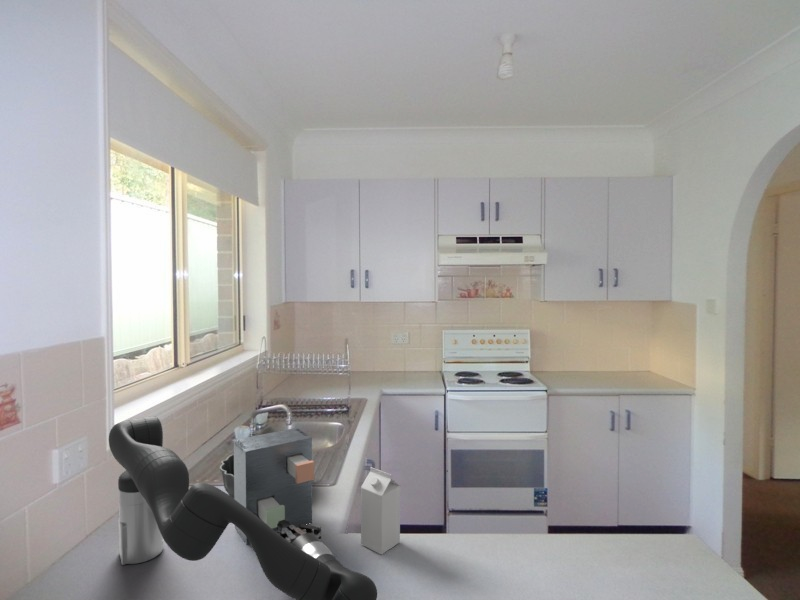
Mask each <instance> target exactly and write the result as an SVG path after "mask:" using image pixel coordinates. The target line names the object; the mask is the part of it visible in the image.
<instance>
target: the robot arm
mask: <svg viewBox="0 0 800 600" xmlns="http://www.w3.org/2000/svg"><path fill="white" fill-rule="evenodd" d="M163 432H164V431H163V426H162V422H161V420H160V419H159V417H157V416H154V415H151V416H145V417H139V418H135V419H130V420H124V421H121V422H117V423H116V424H114V425H113V426H112V427H111V429H110V431H109V434H108V446H109V450H110V452H111V454H112V456H113V457H114V459H115V460H116V462H117V463H118V464H119V465H121V467H122V468H124V469H125V470H124V471H123V472H122V473H120V475H119V476H118V479H117V480H118V483H117V484H118V516H117V517H118V518H117V520H118V555H119V558H120V564H121V565H122V566H124V565H127V564H130V565H133V564H140V563H141V564H142V563H145V562H147V561H151V560H153V559H155V558H156V557H158V556H159V555H160V554H161V553H162V552H163V550H164V542H165V543H166V545H167V547H168V548H169V549H170V550H171V551H172V552H173V553H175V554H176V555H177V556H178V557H180V558H182V559H184V560H187V561H193V562H194V561H200V560H203V559H204V558H205V557H207V555H209V553H211V551H212V549H213V548H214V547H215V545H217V543H218V541H219V540H220V538H221V537H222V535H223V534H224V532H225V530H226V528H228V525H229V524H232V525H234V527H235V526H236V527H238V528H239V529H240V530H241V531H242V532H243V533H244V534H245V535H246V537H247V538H248V540H249V542H250V545H251V547H252V548H253V549H252V550H253V551H254V553H255V555H256V558H257V560H258V563H259V565H260V567H261V569H262V572H263V574H264V576H265V577H266V578H267V580H268V582H270V583H271V584H272V585H273V586H274V587H275V589H277V590H279V591H281V592H282V593H283V594H285V595H287V596H288V597H290V598H292V599H294V600H377V598H378V590H377V589H378V588H377V586H376V584H375V582H374V581H373V579H371V578H370V577H368V576H367V575H366V574H363V573H361V572H357V571H354V570H351V569H349V568H347V567H346V566H344V565H343V564H342V563H341V562H340V560H338V559H337V558H336V557H335V556H334V554H333V553H332V551H331V549H330V548H328V546H326V544H325V543H324V542H322V540H321V539H322V527H321V526H314V525H311V524H308V525H304V524H298V525H297V526H296V527H295V526H294V525H291V524H290V523H289V522H288V521H285V520H281V521H278V524H277V531H276V532H275V531H274V530H273V529H272V528H271V527H269V526H268V525H267V524H266V523H264V522H263V521H262V520H261V519H259V518H258V517H257V516H256V515H254V514H253V513H252V512H250V511H249V510H248V509H246V508H245V507H244V506H243V505H241V504H240V503H239V502H237V501H236V500H235V499H233V498H232V497H231V496H230V495H229V494H228V493H227V492H226V491H223V490H221V489H220V488H218V487H217V486H214V485H211V484H209V483H206V482H195V483H193V484H192V485H191V486H190V474H189V470H188V467H187V465H186V463H185V462H184V461H183V460H182V459H181V458H180V456H178V454H177V453H176V452H175V451H174V450H171V449H170V448H168V447H164V446H163V443H164V442H163V441H164V433H163ZM304 530H305V531H304Z"/></svg>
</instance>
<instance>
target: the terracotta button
mask: <svg viewBox="0 0 800 600" xmlns="http://www.w3.org/2000/svg"><path fill="white" fill-rule="evenodd" d="M286 471H287V472H288V473H290V474H291V475H292V476H293V477H294V478H295V479H296V483H297V484H299V483H302V482H306V481H310V480H312V481H313V480H315V461H314V460H313V459H312V460H311V461H309V460H307V459H306V458H305V457H303V456H302V455H301V454H296V455H292V456H288V457H286Z"/></svg>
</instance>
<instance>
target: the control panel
mask: <svg viewBox="0 0 800 600" xmlns="http://www.w3.org/2000/svg"><path fill="white" fill-rule="evenodd" d="M312 444H313V437H312V436H310V435H309V434H307V433H306V432H304V431H303V430H301V429H300V428H298V427H294V428H287V429H283V430H279V431H273V432H267V433H264V434H259V435H258V434H257V435H252V436H247V437H242V438H238V439H233V454H234V499H235V500H236V501H237V502H239V503H240V504H241V505H243V506H244V507H245V508H246V509H248V510H249V511H250V512H252V513H253V514H254V515H256V516H257V517H258V518H259V519H261V518H260V517H259V516H258V515H257V500H259V499H263V498H266V497H270V496H272V497H273V498H274V499H275V500H276V501H277V502H278V504H279V505H284V506H285V521H288V522H289V523H290V524H291V525H294V526H295V527H296V526H297V525H298V524H304V525H306V524H308V525H310V524H309V523H311V524H313V480H310V481H306V482H302V483H299V484H297V483H296V479H295V478H294V477H293V476H292V475H291V474H290V473H288V472H287V471H286V457H288V456H292V455H296V454H301V455H302V456H303V457H305V458H306V459H307V460H309V461H311V460H313V445H312ZM234 528H235V530H236V531H237V533H238V534H239V536H240V537H241V539H242V540H243V542H244V543H245V544H246V545H249V544H250V545H251V543H250V542H249V540H248V538H247V537H246V535H245V534H244V533H243V532H242V531H241V530H240V529H239V528H238V527H236V526H235V525H234ZM272 529H273V530H274V531H275V532H276V531H277V527H276V528H272Z"/></svg>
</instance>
